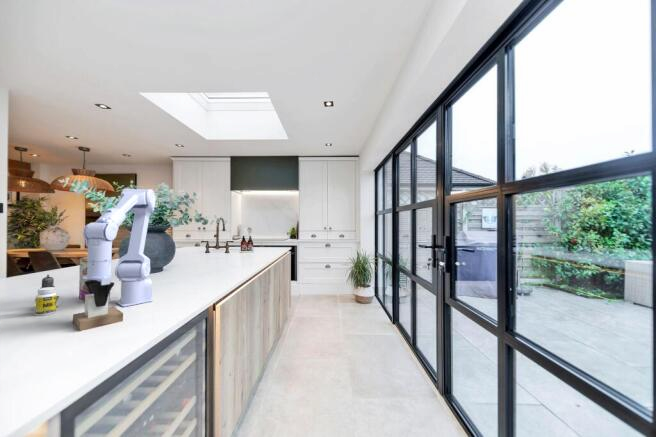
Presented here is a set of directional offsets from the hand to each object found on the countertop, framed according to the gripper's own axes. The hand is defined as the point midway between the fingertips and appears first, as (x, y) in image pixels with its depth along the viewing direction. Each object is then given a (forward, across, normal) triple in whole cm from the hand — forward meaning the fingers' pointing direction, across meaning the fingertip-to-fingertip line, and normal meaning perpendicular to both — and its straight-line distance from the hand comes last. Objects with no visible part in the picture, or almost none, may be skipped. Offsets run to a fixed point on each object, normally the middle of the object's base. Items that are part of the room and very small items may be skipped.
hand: (98, 304), depth 82 cm
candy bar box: (+6, -30, +5) cm, 31 cm away
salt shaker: (+6, -29, -8) cm, 31 cm away
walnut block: (+6, 0, 0) cm, 6 cm away
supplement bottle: (+6, -22, -9) cm, 24 cm away
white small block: (+3, 0, 0) cm, 3 cm away
